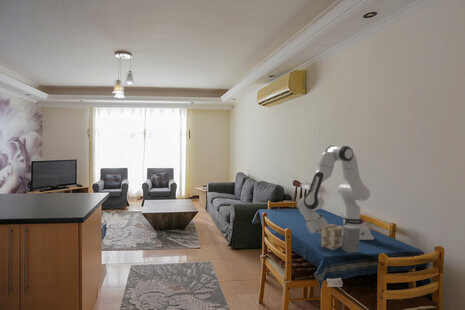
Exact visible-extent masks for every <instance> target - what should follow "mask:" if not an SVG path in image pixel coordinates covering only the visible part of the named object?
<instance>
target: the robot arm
mask: <svg viewBox="0 0 465 310" xmlns="http://www.w3.org/2000/svg"><path fill="white" fill-rule="evenodd" d="M357 159H358V158H357V157H356V154H355V153H354V151H353V148H351V147H350V146H348V145H340V144H338V145H329V146H327V148H326V149H325V151H323V152H322V153H321V155H320V157H319V160H318V161H317V166H316V169H315V172H314V175H313V179H312V181H311V184H310V187H309V189H308V192H307V193H306V195H305V196H304V197H301V198H300V199H298V201H297V203H296V206H297V208H298V210H299V212H300V213H301V215H303V217H304V219H305V225H306V227H307V231H309V233H310V234H316V233H318V234H319V235H321V236H322V226H325V225H328V224H329V222H328V221H327V220H326V219H325V217H324V215H323V214H320V213H317V212H316V211H317V210H319V209H321V208H323V206H324V202H325V200H324V199H323V197H322V196H320V195H319V192H320V189H321V187H322V185H323V183H324V182H326V180H328V179H330V178H331V176H332V174H333V171H334V167H335V163H336V162H337V161H338V162H339V161H340V162H341V170H342V177H343V179H344V180H345V181H346V182H347V183H341V184H339V186H338V187H337V194H338V195H339V196H340V198H341V200H342V203H343V207H344V216H343V222H342V223H343V226H355V227H358V228H360V233H359V241H367V240H368V241H370V240H375V237H374V236H373V235H372V234H371V230H370V228H368V227H367V225H365V224H364V223H366V220H365V219H363V218H361V210H362V209H361V207H360V205H359V204H358V202H357V201H360V202H361V201H363V202H364V201H365V202H366V201H368V200H369V198H370V195H371V192H370V191H371V190H370V189H369V187H367V186H366V185H365V184H364V183H363V181H362V179H361V176H360V171H359V164H358V160H357ZM342 237H343V232H342Z"/></svg>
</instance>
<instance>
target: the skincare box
mask: <svg viewBox="0 0 465 310" xmlns="http://www.w3.org/2000/svg"><path fill="white" fill-rule="evenodd" d="M342 227H343V236H342V247H341V248H342V251H344V252H345V253H347V254H354V253H359V252H360V240H359V233H360V228H358V227H355V226H344V225H343V226H342Z"/></svg>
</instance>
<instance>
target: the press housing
mask: <svg viewBox="0 0 465 310" xmlns="http://www.w3.org/2000/svg"><path fill="white" fill-rule="evenodd" d="M342 232H343V226H342V225H336V224H332V223H328V225H325V226H322V235H321V239H320V240H321V241H320V243H321V245H320V246H321V247H322V248H324V249H325V248H326V249H329V250H332V251H335V250H337V249H339V248H342V247H343V236H342Z"/></svg>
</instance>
